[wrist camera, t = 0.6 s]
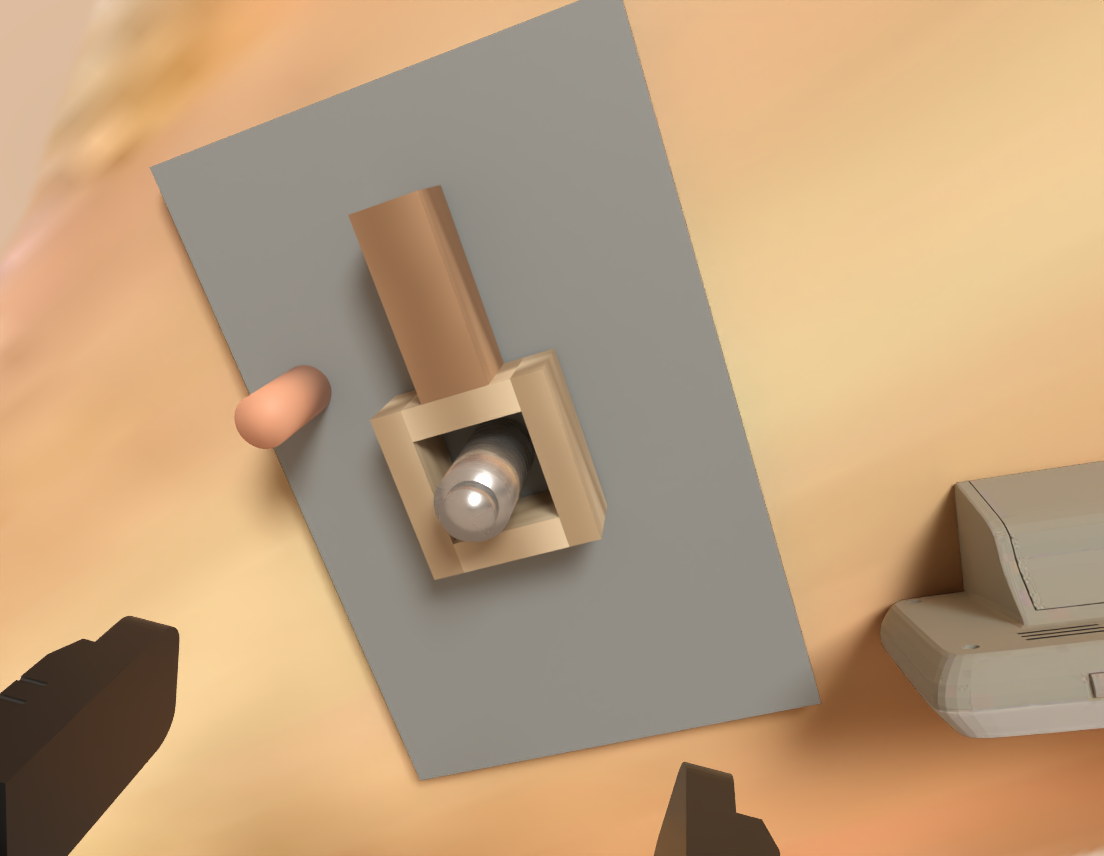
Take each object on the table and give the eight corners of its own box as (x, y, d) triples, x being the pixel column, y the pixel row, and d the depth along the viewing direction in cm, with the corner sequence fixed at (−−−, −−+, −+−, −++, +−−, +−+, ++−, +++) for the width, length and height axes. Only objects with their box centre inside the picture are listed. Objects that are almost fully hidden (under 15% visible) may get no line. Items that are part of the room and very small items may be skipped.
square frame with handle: (493, 166, 31) (474, 170, 28) (607, 505, 34) (601, 538, 31) (327, 224, 32) (294, 233, 29) (453, 544, 36) (434, 579, 33)
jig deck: (620, -8, 30) (617, -15, 28) (815, 681, 37) (821, 703, 36) (171, 165, 34) (149, 167, 32) (428, 758, 41) (420, 780, 40)
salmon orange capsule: (319, 359, 34) (275, 387, 30) (339, 406, 34) (298, 440, 31) (274, 373, 34) (225, 403, 31) (294, 420, 35) (248, 454, 31)
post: (523, 409, 34) (490, 469, 28) (544, 470, 34) (518, 541, 28) (460, 427, 34) (415, 489, 28) (483, 487, 35) (443, 560, 29)
